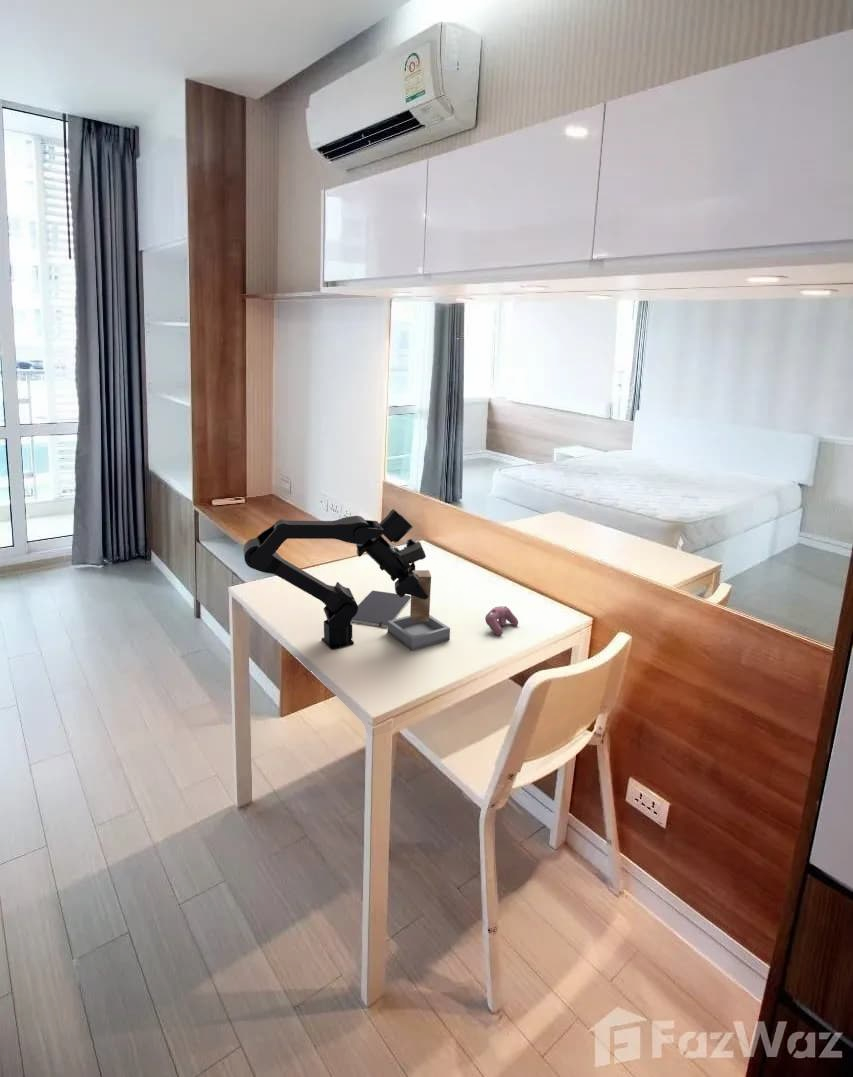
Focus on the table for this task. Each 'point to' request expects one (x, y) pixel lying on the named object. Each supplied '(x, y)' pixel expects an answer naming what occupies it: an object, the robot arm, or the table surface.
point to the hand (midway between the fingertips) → (425, 594)
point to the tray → (418, 632)
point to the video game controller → (500, 618)
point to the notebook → (380, 608)
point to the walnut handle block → (419, 605)
